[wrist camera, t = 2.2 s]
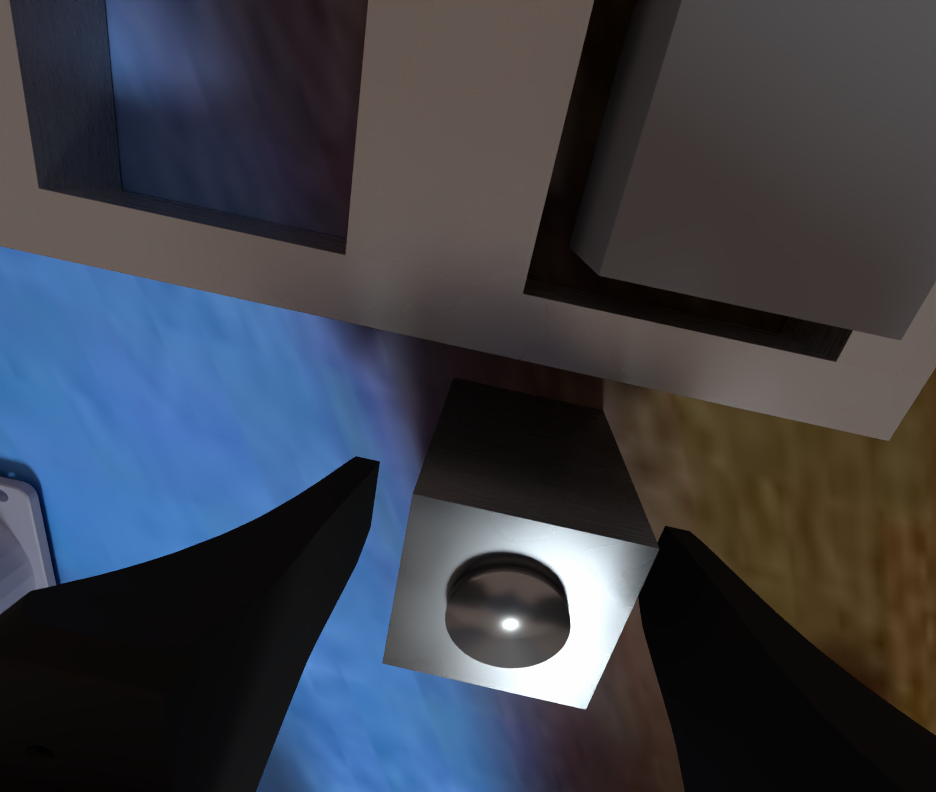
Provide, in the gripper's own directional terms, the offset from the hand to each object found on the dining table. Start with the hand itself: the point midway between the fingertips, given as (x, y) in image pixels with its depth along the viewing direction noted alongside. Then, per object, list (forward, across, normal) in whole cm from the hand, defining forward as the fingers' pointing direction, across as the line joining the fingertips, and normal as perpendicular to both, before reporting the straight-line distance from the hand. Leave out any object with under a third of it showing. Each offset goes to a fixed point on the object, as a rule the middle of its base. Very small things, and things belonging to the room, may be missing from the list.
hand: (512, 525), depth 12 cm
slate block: (+3, -2, -9) cm, 10 cm away
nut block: (+3, 0, 0) cm, 3 cm away
